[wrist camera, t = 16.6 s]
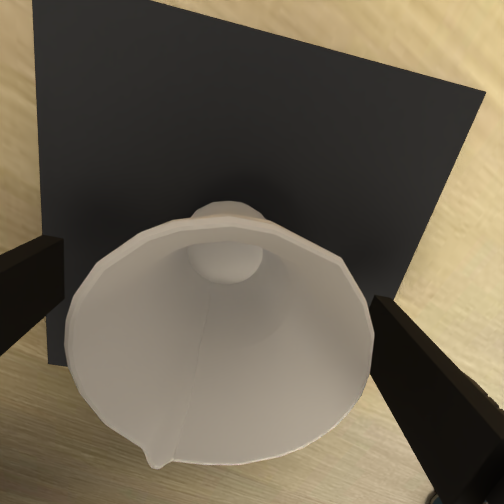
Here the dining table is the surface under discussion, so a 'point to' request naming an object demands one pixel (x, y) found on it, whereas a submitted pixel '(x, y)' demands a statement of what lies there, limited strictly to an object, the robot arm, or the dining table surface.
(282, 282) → the cup
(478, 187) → the dining table surface
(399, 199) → the mat
